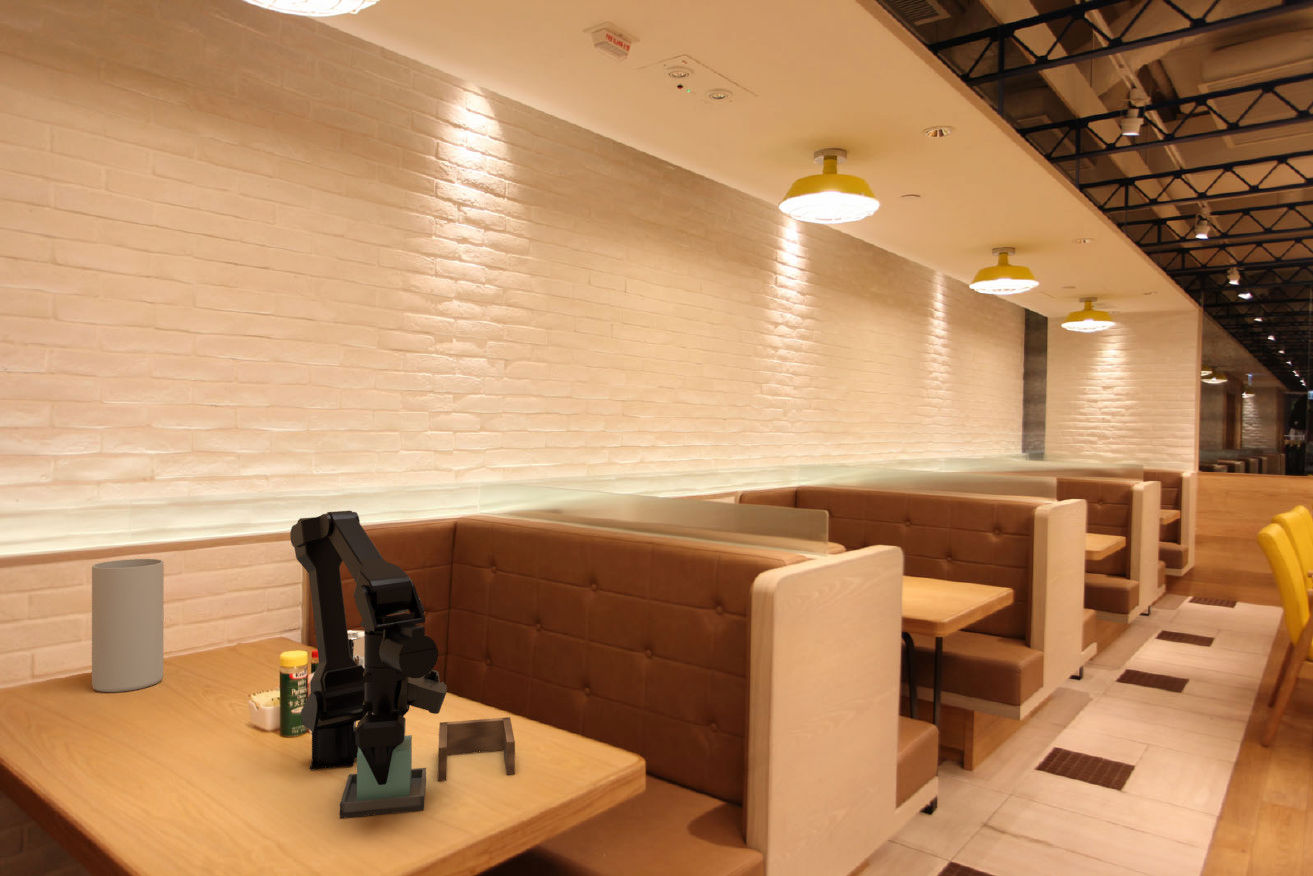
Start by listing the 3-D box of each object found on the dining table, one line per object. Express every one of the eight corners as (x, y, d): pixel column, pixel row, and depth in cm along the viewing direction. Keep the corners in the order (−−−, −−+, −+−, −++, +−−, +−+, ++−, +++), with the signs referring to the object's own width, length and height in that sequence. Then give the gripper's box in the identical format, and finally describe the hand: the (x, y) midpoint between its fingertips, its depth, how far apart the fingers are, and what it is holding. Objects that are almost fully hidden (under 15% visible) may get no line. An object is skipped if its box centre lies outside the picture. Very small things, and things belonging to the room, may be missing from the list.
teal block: (356, 804, 115) (357, 754, 115) (361, 786, 121) (361, 739, 121) (409, 799, 117) (409, 750, 117) (411, 782, 123) (411, 735, 123)
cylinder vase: (139, 693, 165) (139, 568, 165) (77, 693, 165) (76, 568, 165) (176, 675, 178) (176, 559, 178) (118, 674, 178) (118, 558, 178)
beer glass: (357, 723, 150) (357, 640, 149) (322, 720, 151) (323, 638, 151) (377, 710, 156) (378, 631, 156) (344, 707, 158) (344, 629, 158)
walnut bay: (438, 781, 125) (438, 748, 125) (439, 753, 136) (439, 722, 136) (514, 774, 128) (514, 741, 128) (510, 747, 139) (510, 717, 139)
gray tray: (339, 818, 113) (339, 804, 113) (348, 787, 122) (348, 774, 122) (423, 810, 115) (423, 796, 115) (426, 780, 125) (426, 767, 125)
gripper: (442, 677, 112) (442, 793, 112) (444, 643, 130) (443, 742, 130) (355, 683, 109) (354, 801, 109) (369, 647, 127) (369, 748, 127)
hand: (385, 771), depth 119 cm, fingers open, 9 cm apart
